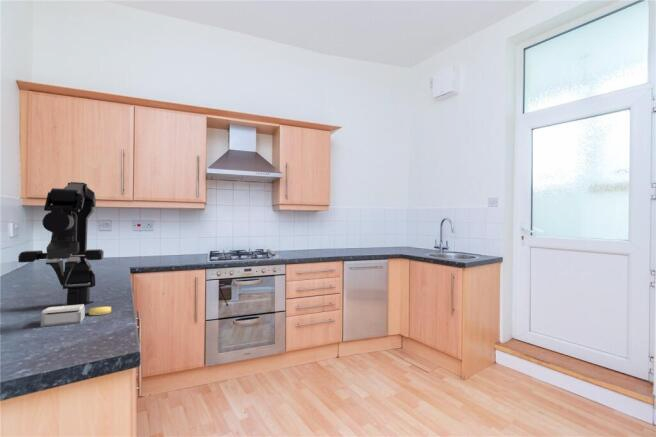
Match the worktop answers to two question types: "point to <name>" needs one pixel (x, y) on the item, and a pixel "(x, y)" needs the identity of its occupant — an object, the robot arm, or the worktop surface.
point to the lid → (63, 308)
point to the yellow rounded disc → (99, 310)
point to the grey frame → (62, 318)
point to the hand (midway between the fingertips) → (63, 285)
